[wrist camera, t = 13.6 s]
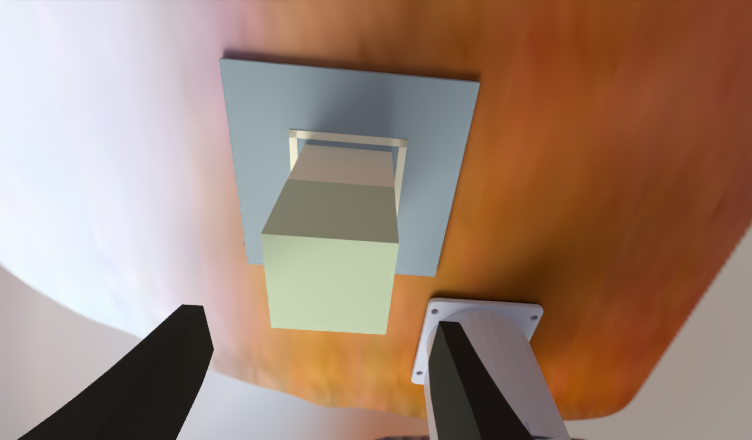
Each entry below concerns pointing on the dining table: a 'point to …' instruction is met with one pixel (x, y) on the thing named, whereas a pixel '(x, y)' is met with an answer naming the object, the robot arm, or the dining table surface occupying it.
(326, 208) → the sage block
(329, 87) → the plate
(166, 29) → the dining table surface
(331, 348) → the dining table surface
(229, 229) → the dining table surface
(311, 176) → the cream block
